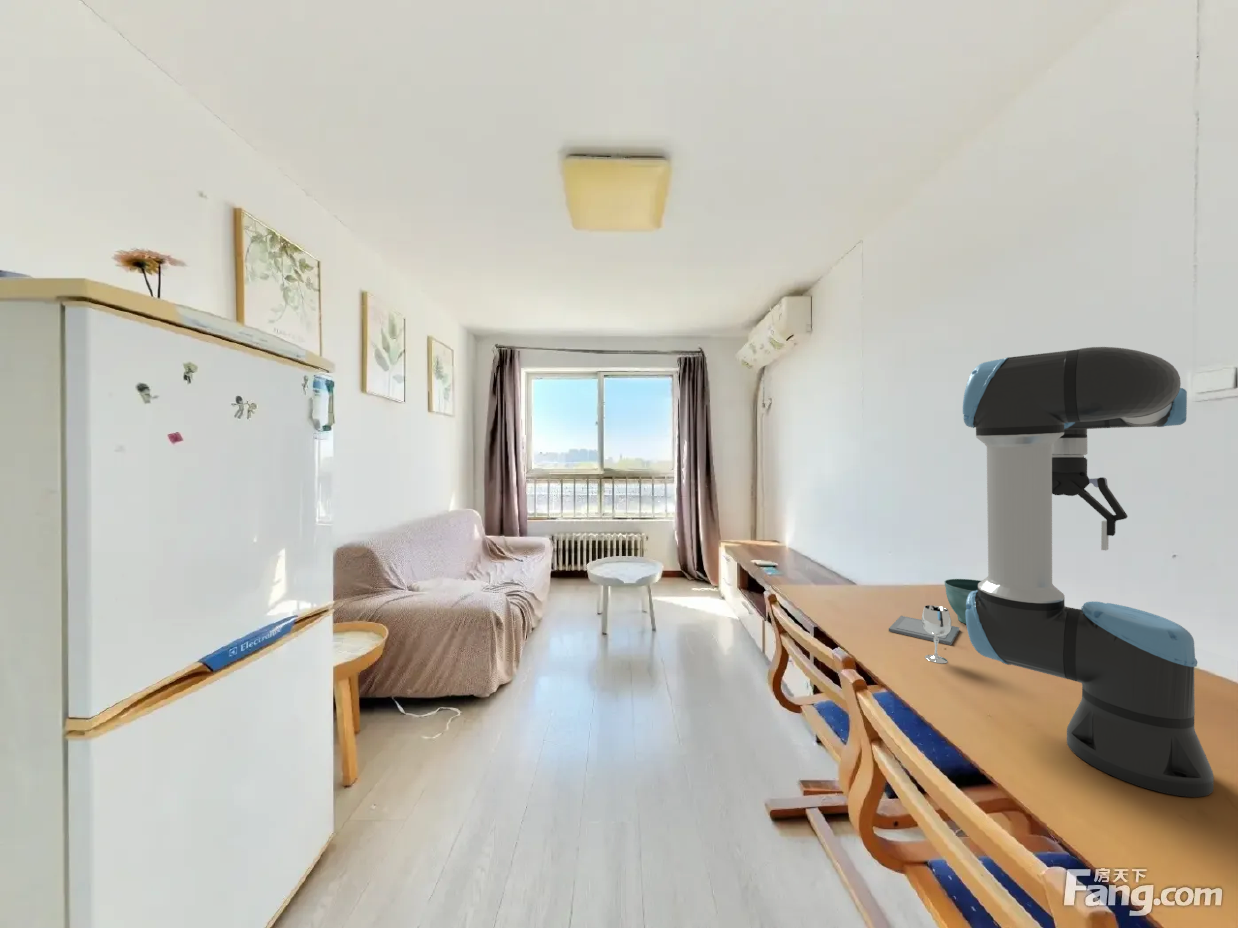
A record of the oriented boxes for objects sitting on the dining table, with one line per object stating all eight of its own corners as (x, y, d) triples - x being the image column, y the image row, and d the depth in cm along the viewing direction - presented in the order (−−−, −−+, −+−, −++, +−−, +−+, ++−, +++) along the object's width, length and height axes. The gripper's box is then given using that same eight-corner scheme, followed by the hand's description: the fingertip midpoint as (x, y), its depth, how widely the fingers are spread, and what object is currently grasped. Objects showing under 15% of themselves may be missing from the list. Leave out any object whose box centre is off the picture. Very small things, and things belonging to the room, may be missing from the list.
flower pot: (951, 610, 144) (952, 575, 144) (1020, 623, 133) (1020, 585, 132) (937, 622, 134) (937, 585, 133) (1010, 638, 122) (1010, 597, 122)
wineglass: (952, 658, 109) (953, 608, 109) (948, 666, 105) (949, 614, 105) (924, 651, 113) (924, 602, 113) (919, 659, 109) (919, 608, 109)
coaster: (951, 645, 117) (951, 641, 117) (888, 631, 127) (888, 627, 127) (959, 630, 128) (959, 626, 128) (901, 618, 137) (901, 615, 137)
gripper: (1145, 456, 103) (1144, 551, 104) (1004, 456, 124) (1003, 536, 124) (1140, 456, 99) (1139, 555, 99) (995, 456, 119) (994, 539, 119)
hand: (1064, 545), depth 111 cm, fingers open, 13 cm apart
